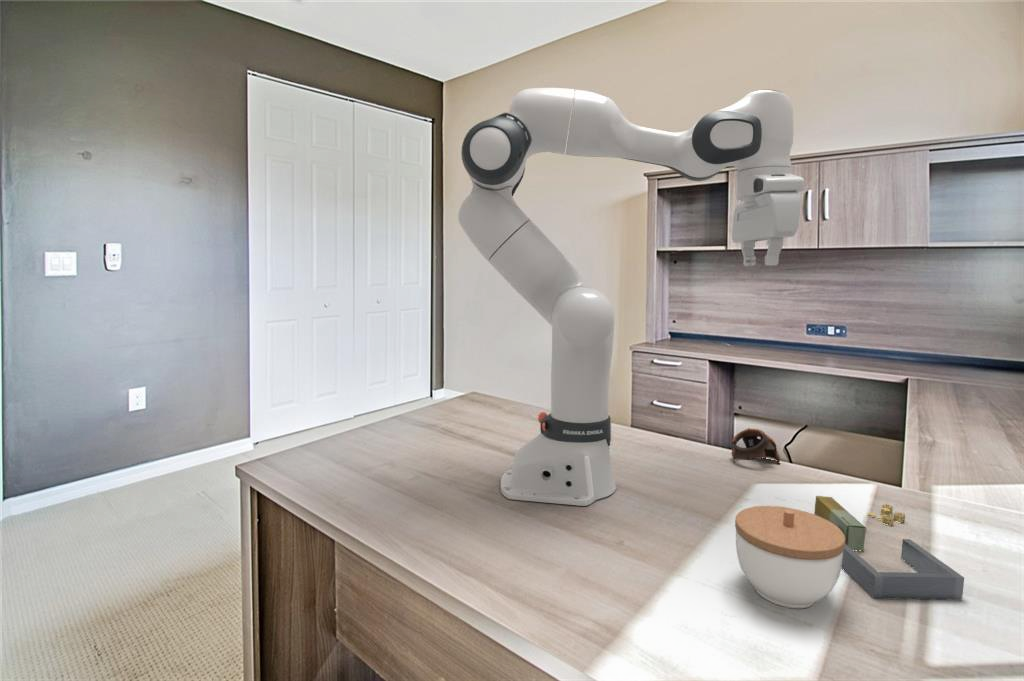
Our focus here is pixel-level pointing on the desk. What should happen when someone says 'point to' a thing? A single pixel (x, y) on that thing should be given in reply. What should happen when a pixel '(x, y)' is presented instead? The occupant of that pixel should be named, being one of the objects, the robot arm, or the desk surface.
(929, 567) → the bracket
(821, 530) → the lidded white bowl
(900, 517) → the dice set
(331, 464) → the desk surface
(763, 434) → the brown jagged ring
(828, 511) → the medication box
